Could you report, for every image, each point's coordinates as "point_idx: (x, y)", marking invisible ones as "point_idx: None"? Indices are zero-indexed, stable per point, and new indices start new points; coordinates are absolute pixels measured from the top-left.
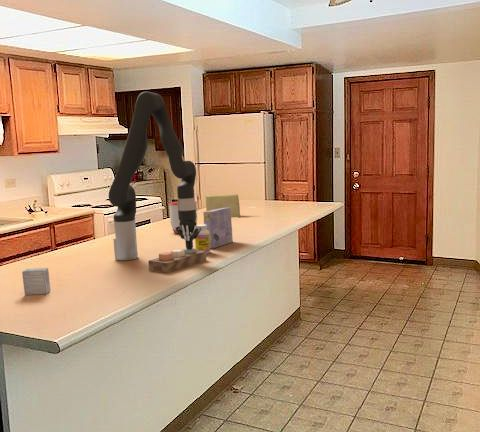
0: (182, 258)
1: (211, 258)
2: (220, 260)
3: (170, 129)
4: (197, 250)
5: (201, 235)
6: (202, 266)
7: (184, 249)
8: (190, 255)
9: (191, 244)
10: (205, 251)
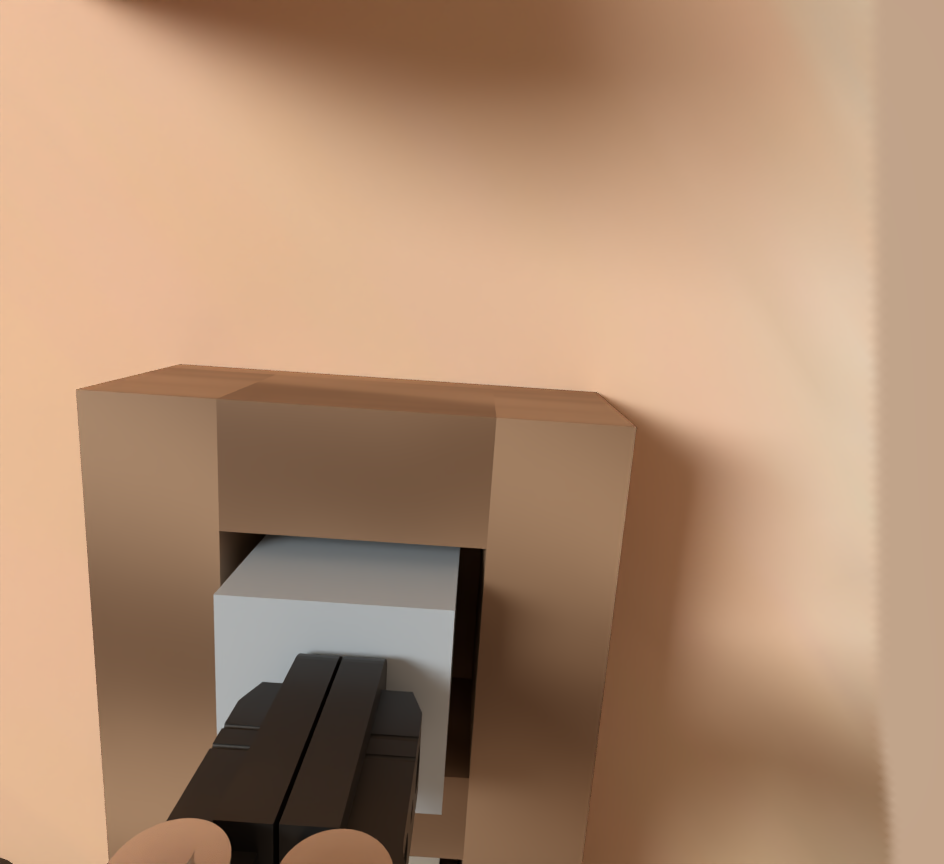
0: None
1: (595, 215)
2: (849, 292)
3: None
4: (386, 425)
5: None
6: (765, 735)
7: None
8: (558, 854)
9: (412, 816)
10: (634, 438)
